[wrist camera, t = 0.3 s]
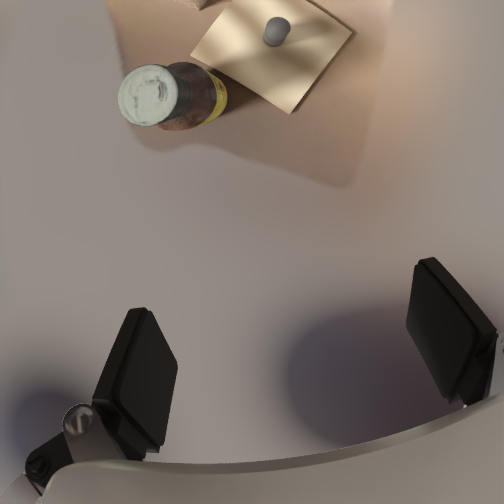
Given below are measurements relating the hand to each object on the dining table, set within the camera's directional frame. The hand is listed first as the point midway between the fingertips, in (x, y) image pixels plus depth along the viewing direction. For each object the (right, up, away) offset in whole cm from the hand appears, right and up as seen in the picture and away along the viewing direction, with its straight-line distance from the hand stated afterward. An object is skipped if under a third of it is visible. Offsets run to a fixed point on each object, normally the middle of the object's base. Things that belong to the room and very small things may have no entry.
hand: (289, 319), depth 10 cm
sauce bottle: (-7, +21, +23) cm, 32 cm away
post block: (+1, +28, +19) cm, 34 cm away
